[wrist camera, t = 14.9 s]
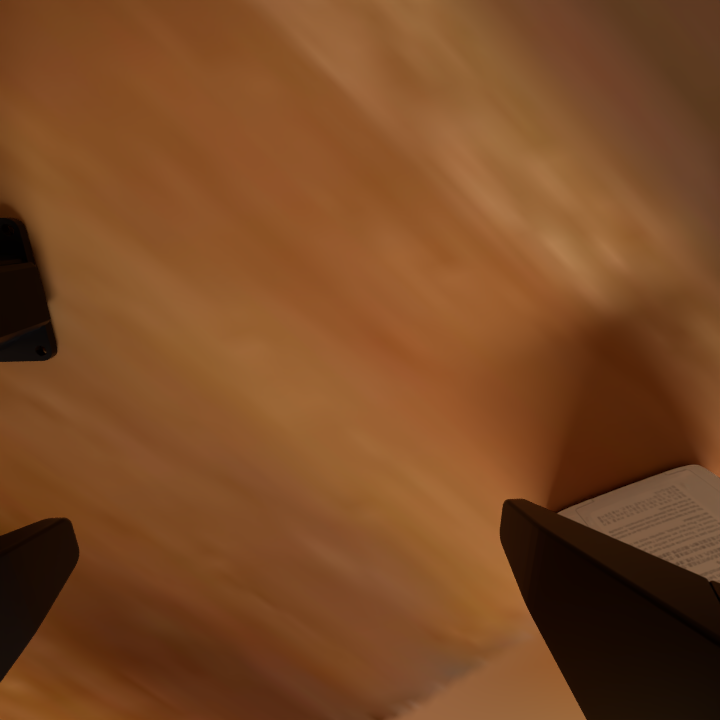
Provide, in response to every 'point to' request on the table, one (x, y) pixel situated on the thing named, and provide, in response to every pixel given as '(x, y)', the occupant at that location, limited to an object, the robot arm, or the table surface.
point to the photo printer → (663, 517)
